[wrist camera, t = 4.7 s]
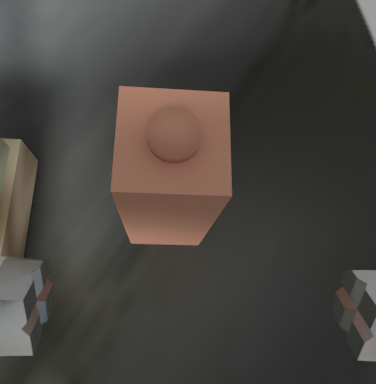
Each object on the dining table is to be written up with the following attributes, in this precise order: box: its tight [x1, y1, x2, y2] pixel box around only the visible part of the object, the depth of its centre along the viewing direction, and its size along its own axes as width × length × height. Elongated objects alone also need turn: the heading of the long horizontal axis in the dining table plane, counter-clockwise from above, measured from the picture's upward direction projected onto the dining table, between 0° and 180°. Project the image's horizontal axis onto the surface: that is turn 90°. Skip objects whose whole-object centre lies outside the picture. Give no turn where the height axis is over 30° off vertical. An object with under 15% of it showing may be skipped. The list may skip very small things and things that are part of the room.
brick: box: [111, 86, 232, 245], centre depth 17 cm, size 4×4×11 cm
